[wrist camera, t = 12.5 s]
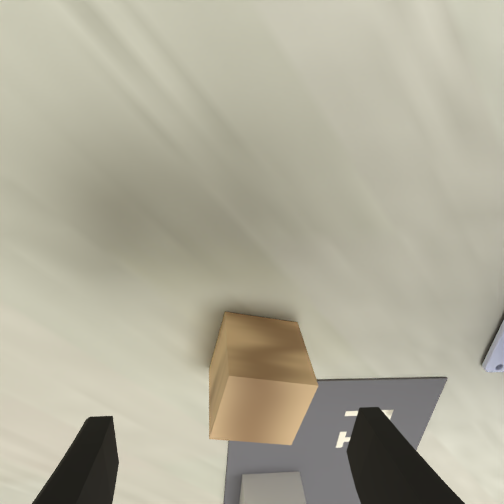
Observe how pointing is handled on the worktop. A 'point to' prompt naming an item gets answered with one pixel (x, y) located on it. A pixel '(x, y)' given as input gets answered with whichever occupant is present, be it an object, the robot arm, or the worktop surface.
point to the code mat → (335, 436)
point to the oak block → (259, 380)
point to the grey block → (272, 488)
